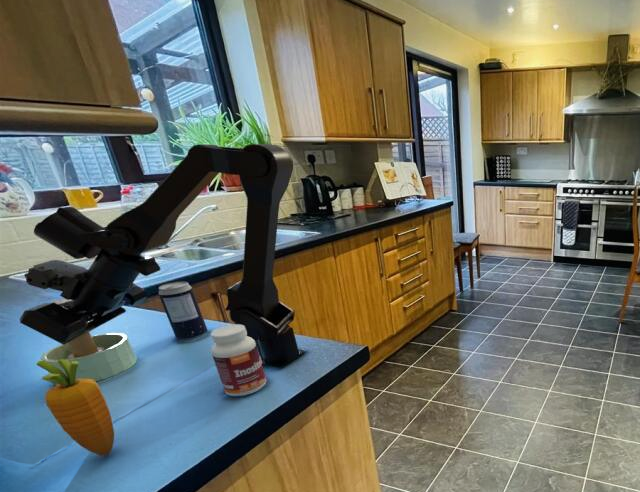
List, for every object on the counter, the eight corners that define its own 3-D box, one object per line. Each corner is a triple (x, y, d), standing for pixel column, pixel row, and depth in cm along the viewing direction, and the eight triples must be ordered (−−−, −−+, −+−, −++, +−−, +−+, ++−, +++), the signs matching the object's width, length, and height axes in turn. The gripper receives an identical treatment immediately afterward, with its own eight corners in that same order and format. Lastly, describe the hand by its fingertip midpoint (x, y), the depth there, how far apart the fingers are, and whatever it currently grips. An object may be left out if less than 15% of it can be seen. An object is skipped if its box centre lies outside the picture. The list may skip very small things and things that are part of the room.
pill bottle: (244, 400, 66) (224, 340, 61) (216, 394, 67) (194, 336, 63) (275, 380, 71) (258, 324, 66) (249, 375, 73) (230, 320, 68)
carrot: (139, 447, 56) (91, 352, 50) (96, 472, 51) (38, 372, 45) (116, 439, 57) (67, 347, 51) (72, 463, 53) (13, 366, 47)
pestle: (117, 361, 76) (86, 297, 71) (87, 374, 72) (52, 307, 66) (98, 358, 77) (67, 295, 72) (68, 371, 73) (32, 305, 68)
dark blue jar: (214, 331, 91) (197, 281, 86) (194, 343, 85) (174, 290, 81) (191, 330, 91) (172, 280, 86) (170, 342, 86) (148, 289, 81)
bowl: (153, 361, 78) (142, 335, 76) (85, 392, 69) (70, 365, 66) (111, 355, 81) (99, 330, 79) (39, 384, 71) (24, 357, 69)
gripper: (103, 233, 74) (65, 293, 77) (-1, 259, 57) (-44, 334, 60) (165, 271, 78) (126, 327, 81) (85, 307, 61) (40, 374, 65)
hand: (70, 338), depth 72 cm, fingers closed on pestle, 3 cm apart
